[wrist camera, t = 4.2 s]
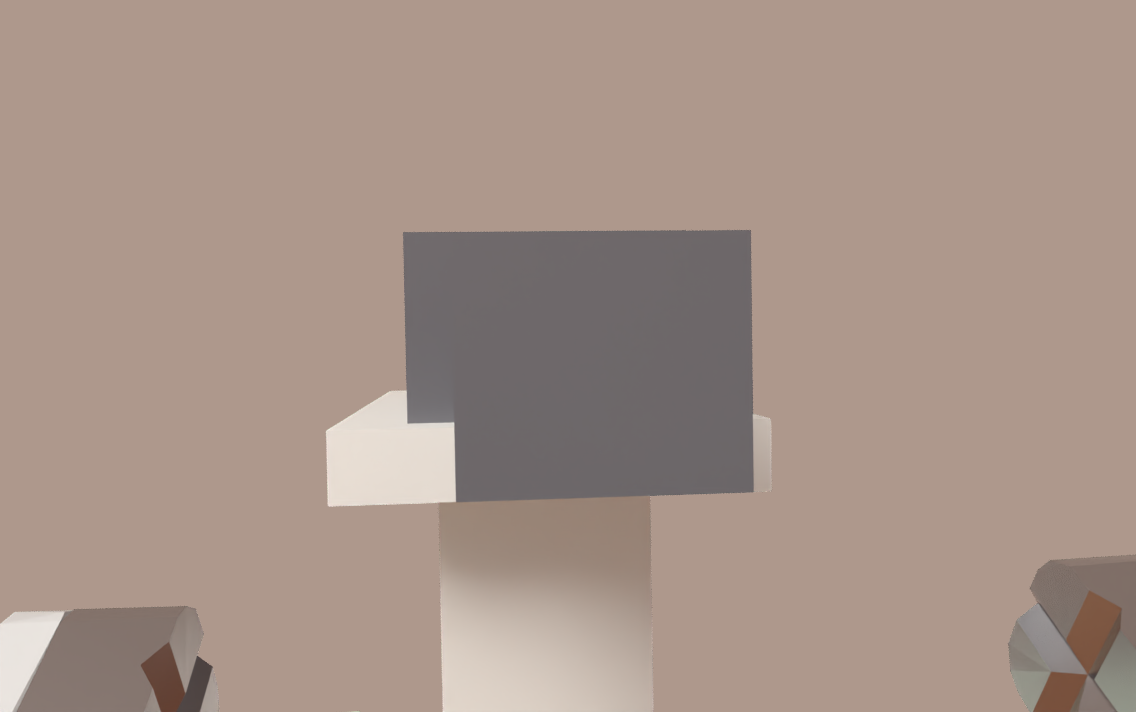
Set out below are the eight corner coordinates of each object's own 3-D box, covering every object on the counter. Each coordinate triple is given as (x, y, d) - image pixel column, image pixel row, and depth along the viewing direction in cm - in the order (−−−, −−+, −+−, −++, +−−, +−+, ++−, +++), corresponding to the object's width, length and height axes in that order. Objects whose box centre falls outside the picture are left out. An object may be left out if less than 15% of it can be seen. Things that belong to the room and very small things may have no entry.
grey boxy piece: (863, 488, 10) (861, 142, 10) (336, 506, 10) (328, 141, 10) (615, 385, 30) (613, 267, 30) (436, 390, 30) (433, 269, 30)
